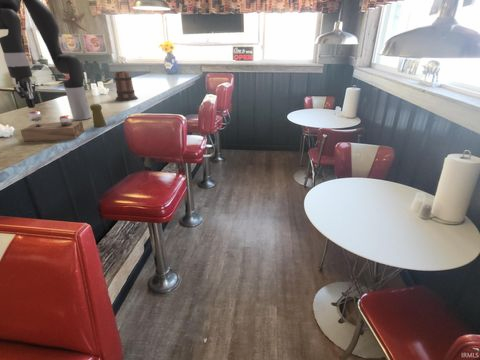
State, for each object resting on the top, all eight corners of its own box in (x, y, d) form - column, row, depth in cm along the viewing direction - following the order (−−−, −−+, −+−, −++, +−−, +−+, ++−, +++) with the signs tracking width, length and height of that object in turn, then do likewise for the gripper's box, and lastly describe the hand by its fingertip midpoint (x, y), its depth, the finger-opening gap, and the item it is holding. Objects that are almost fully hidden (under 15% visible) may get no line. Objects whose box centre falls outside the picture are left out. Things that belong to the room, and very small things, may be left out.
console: (37, 133, 134) (34, 123, 132) (84, 131, 137) (81, 121, 135) (24, 141, 123) (20, 130, 121) (75, 138, 126) (72, 127, 124)
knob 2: (65, 129, 131) (61, 115, 129) (75, 129, 132) (71, 115, 129) (61, 132, 128) (57, 117, 125) (72, 131, 128) (67, 117, 125)
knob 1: (35, 125, 129) (30, 111, 126) (46, 125, 129) (41, 110, 126) (30, 128, 125) (25, 113, 122) (41, 127, 125) (36, 112, 122)
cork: (101, 127, 143) (96, 105, 138) (91, 126, 144) (85, 105, 139) (108, 124, 148) (104, 103, 144) (98, 124, 149) (93, 102, 145)
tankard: (135, 100, 212) (130, 72, 203) (112, 101, 210) (106, 73, 202) (142, 95, 233) (137, 69, 224) (121, 96, 232) (116, 70, 223)
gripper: (17, 64, 121) (30, 105, 129) (-2, 66, 109) (14, 111, 117) (35, 64, 122) (47, 104, 130) (19, 65, 110) (33, 110, 118)
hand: (31, 107), depth 123 cm, fingers closed
